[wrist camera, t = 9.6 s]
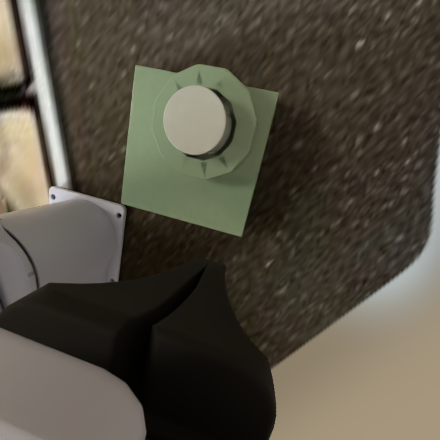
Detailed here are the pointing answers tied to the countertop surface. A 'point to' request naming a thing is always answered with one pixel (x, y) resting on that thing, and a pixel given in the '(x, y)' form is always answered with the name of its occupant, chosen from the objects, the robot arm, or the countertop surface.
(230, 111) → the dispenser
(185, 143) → the white round button
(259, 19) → the countertop surface
